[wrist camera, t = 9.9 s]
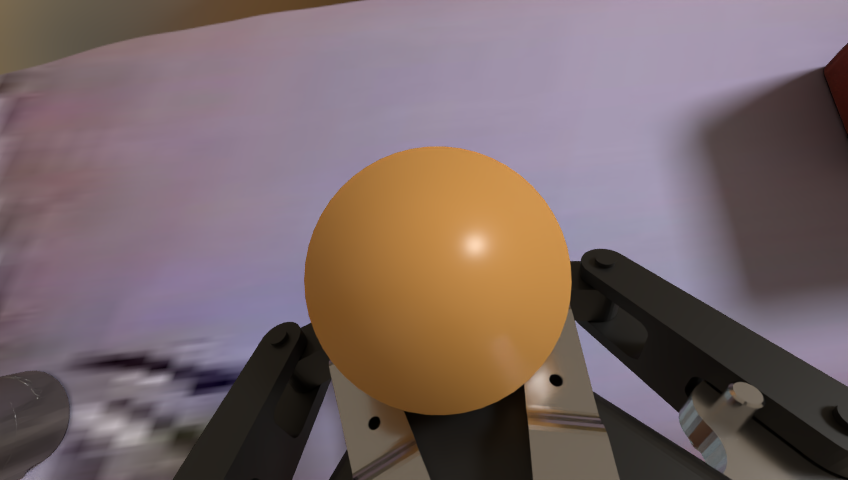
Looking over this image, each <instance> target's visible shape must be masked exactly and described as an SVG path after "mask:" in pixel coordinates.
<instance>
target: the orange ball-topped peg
mask: <svg viewBox="0 0 848 480" xmlns="http://www.w3.org/2000/svg"><path fill="white" fill-rule="evenodd" d="M304 284H305V298H306V303H307V308H308V313H309V317H310V320H311V323H312V326H313V329H314V332H315V334H316V336H317V338H318V340H319V342H320V344H321V346H322V348H323V349H324V351H325V353H326V354H327V356H328V357H329V359H330V360H331V362H332V363H333V364H334V365H335V366H336V367H337V369H338V370H339V371H340V372H341V373H342V374H343V375H344V376H345V377H346V378H347V379H348V380H349V381H350V382H351V383H353V384H354V385H355V386H356V387H357V388H358V389H360V390H362V391H363V392H365V393H366V394H368V395H369V396H371V397H372V398H374V399H376V400H378V401H380V402H382V403H384V404H386V405H389V406H391V407H394V408H398V409H401V410H404V411H407V412H413V413H419V414H424V415H450V414H459V413H465V412H469V411H473V410H477V409H481V408H483V407H485V406H488V405H490V404H493V403H495V402H497V401H499V400H501V399H503V398H504V397H506V396H508V395H509V394H511V393H513V392H514V391H516V390H517V389H518V388H519V387H521V386H522V385H523V384H524V383H526V382H527V381H528V380H529V379H530V378H531V377H532V376H533V375H534V374H535V373H536V372H537V371H538V370H539V369H540V367H541V366H542V365H543V364H544V362H545V361H546V359H547V358H548V356H549V355H550V354H551V352H552V351H553V349H554V347H555V345H556V343H557V341H558V339H559V337H560V335H561V332H562V329H563V327H564V324H565V321H566V318H567V314H568V309H569V304H570V297H571V284H572V281H571V264H570V259H569V254H568V249H567V245H566V242H565V239H564V236H563V233H562V230H561V228H560V226H559V224H558V222H557V220H556V218H555V216H554V214H553V212H552V211H551V209H550V208H549V206H548V205H547V203H546V202H545V200H544V199H543V198H542V197H541V196H540V194H539V193H538V192H537V191H536V190H535V189H534V187H533V186H532V185H530V184H529V183H528V182H527V181H526V180H525V179H524V178H523V177H522V176H520V175H519V174H518V173H516V172H515V171H513V170H512V169H510V168H509V167H508V166H506V165H504V164H502V163H500V162H498V161H496V160H495V159H493V158H490V157H488V156H485V155H482V154H480V153H477V152H473V151H469V150H465V149H461V148H452V147H422V148H415V149H409V150H405V151H402V152H398V153H395V154H392V155H390V156H387V157H385V158H382V159H380V160H378V161H376V162H374V163H373V164H371V165H369V166H367V167H366V168H364V169H363V170H361V171H360V172H359V173H357V174H356V175H355V176H353V177H352V178H351V179H350V180H349V181H348V182H347V183H346V184H345V185H343V186H342V187H341V188H340V190H339V191H338V192H337V193H336V194H335V196H334V197H333V198H332V199H331V200H330V202H329V203H328V205H327V206H326V208H325V210H324V211H323V213H322V214H321V216H320V218H319V220H318V223H317V225H316V227H315V229H314V231H313V234H312V237H311V240H310V244H309V247H308V252H307V257H306V262H305V277H304Z"/></svg>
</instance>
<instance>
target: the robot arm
mask: <svg viewBox="0 0 848 480" xmlns="http://www.w3.org/2000/svg"><path fill="white" fill-rule="evenodd" d="M570 264H571V281H572V284H571V297H570V304H569V309H568V314H567V318H566V321H565V324H564V327H563V329H562V332H561V335H560V337H559V339H558V341H557V343H556V345H555V347H554V349H553V351H552V352H551V354H550V355H549V356H548V358H547V359H546V361H545V362H544V364H543V365H542V366H541V367H540V369H539V370H538V371H537V372H536V373H535V374H534V375H533V376H532V377H531V378H530V379H529V380H528V381H527V382H526V383H524V384H523V385H522V386H521V387H519V388H518V389H517V390H516V391H514V392H513V393H511V394H509V395H508V396H506V397H504V398H503V399H501V400H499V401H497V402H495V403H493V404H490V405H488V406H485V407H483V408H481V409H477V410H473V411H469V412H465V413H459V414H450V415H424V414H419V413H413V412H407V411H404V410H401V409H398V408H394V407H391V406H389V405H386V404H384V403H382V402H380V401H378V400H376V399H374V398H372V397H371V396H369V395H368V394H366V393H365V392H363V391H362V390H360V389H358V388H357V387H356V386H355V385H354V384H353V383H351V382H350V381H349V380H348V379H347V378H346V377H345V376H344V375H343V374H342V373H341V372H340V371H339V370H338V369H337V367H336V366H335V365H334V364H333V363H332V362H331V360H330V359H329V357H328V356H327V354H326V353H325V351H324V349H323V348H322V346H321V344H320V342H319V340H318V338H317V336H316V334H315V332H314V329H313V326H312V323H310V324H308V325H306V326H304V327H302V328H300V327H299V325H298V324H296V323H294V322H286V323H282V324H279V325H277V326H276V327H274V328H272V329H271V330H270V331H269V332H268V333H267V334H266V335H265V336H264V337H263V339H262V340H261V342H260V343H259V345H258V346H257V348H256V350H255V351H254V353H253V354H252V356H251V357H250V359H249V361H248V362H247V364H246V365H245V367H244V368H243V370H242V372H241V373H240V375H239V376H238V378H237V379H236V381H235V383H234V384H233V386H232V387H231V389H230V390H229V392H228V394H227V395H226V397H225V398H224V400H223V401H222V403H221V405H220V406H219V408H218V409H217V411H216V412H215V414H214V415H213V417H212V419H211V420H210V422H209V423H208V425H207V426H206V428H205V430H204V431H203V433H202V434H201V436H200V437H199V439H198V441H197V442H196V444H195V445H194V447H193V448H192V450H191V452H190V453H189V455H188V456H187V458H186V459H185V461H184V463H183V464H182V466H181V467H180V469H179V470H178V472H177V474H176V475H175V477H174V478H173V480H292V478H293V476H294V473H295V471H296V468H297V465H298V463H299V460H300V458H301V455H302V453H303V450H304V448H305V445H306V442H307V440H308V437H309V435H310V432H311V430H312V427H313V425H314V422H315V419H316V417H317V414H318V412H319V409H320V407H321V404H322V402H323V399H324V396H325V394H326V391H327V389H328V386H329V384H330V381H331V378H332V382H333V387H334V391H335V396H336V401H337V405H338V410H339V414H340V419H341V423H342V428H343V432H344V437H345V441H346V446H347V450H346V452H345V454H344V455H343V457H342V459H341V460H340V462H339V464H338V465H337V467H336V469H335V470H334V472H333V474H332V475H331V477H330V479H329V480H848V387H847V386H846V385H844V384H842V383H840V382H839V381H837V380H835V379H834V378H832V377H830V376H828V375H827V374H825V373H823V372H822V371H820V370H818V369H816V368H815V367H813V366H811V365H810V364H808V363H806V362H805V361H803V360H801V359H799V358H798V357H796V356H794V355H793V354H791V353H789V352H787V351H786V350H784V349H782V348H781V347H779V346H777V345H775V344H774V343H772V342H770V341H769V340H767V339H765V338H763V337H762V336H760V335H758V334H757V333H755V332H753V331H751V330H750V329H748V328H746V327H745V326H743V325H741V324H740V323H738V322H736V321H734V320H733V319H731V318H729V317H728V316H726V315H724V314H722V313H721V312H719V311H717V310H716V309H714V308H712V307H710V306H709V305H707V304H705V303H704V302H702V301H700V300H698V299H697V298H695V297H693V296H692V295H690V294H688V293H686V292H685V291H683V290H681V289H680V288H678V287H676V286H674V285H673V284H671V283H669V282H668V281H666V280H664V279H663V278H661V277H659V276H657V275H656V274H654V273H652V272H651V271H649V270H647V269H645V268H644V267H642V266H640V265H639V264H637V263H635V262H633V261H632V260H630V259H628V258H627V257H625V256H623V255H621V254H620V253H618V252H615V251H612V250H607V249H594V250H590V251H588V252H586V253H585V254H584V255H583V256H582V258H581V261H570ZM574 320H576V321H577V323H578V324H580V325H581V326H582V327H583V328H584V329H585V330H586V331H587V332H589V333H590V334H591V335H592V336H593V337H594V338H595V339H596V340H598V341H599V342H600V343H601V344H602V345H603V346H604V347H605V348H607V349H608V350H609V351H610V352H611V353H612V354H613V355H614V356H616V357H617V358H618V359H619V360H620V361H621V362H622V363H623V364H625V365H626V366H627V367H628V368H629V369H630V370H631V371H632V372H634V373H635V374H636V375H637V376H638V377H639V378H640V379H641V380H643V381H644V382H645V383H646V384H647V385H648V386H649V387H650V388H652V389H653V390H654V391H655V392H656V393H657V394H658V395H659V396H661V397H662V398H663V399H664V400H665V401H666V402H667V403H668V404H670V405H671V406H672V407H673V408H674V409H675V410H676V411H677V412H679V422H680V425H681V427H682V429H683V431H684V433H685V434H686V436H687V437H688V438H689V440H690V442H691V444H692V445H693V447H694V448H695V449H697V450H698V451H699V452H700V453H701V454H702V456H703V458H704V459H705V461H706V463H705V462H704V461H702V460H701V459H699V458H697V457H696V456H694V455H693V454H691V453H689V452H688V451H686V450H685V449H683V448H682V447H680V446H678V445H677V444H675V443H674V442H672V441H671V440H669V439H667V438H666V437H664V436H663V435H661V434H659V433H658V432H656V431H655V430H653V429H652V428H650V427H648V426H647V425H645V424H644V423H642V422H640V421H639V420H637V419H636V418H634V417H633V416H631V415H629V414H628V413H626V412H625V411H623V410H621V409H620V408H618V407H617V406H615V405H614V404H612V403H610V402H609V401H607V400H606V399H604V398H602V397H601V396H599V395H598V394H596V393H595V392H593V391H592V387H591V383H590V379H589V375H588V371H587V367H586V364H585V360H584V356H583V352H582V348H581V344H580V340H579V336H578V332H577V328H576V324H575V321H574ZM68 421H69V402H68V397H67V394H66V392H65V390H64V388H63V387H62V385H61V384H60V382H59V381H58V380H56V379H55V378H54V377H53V376H51V375H49V374H47V373H45V372H40V371H25V372H20V373H16V374H11V375H6V376H2V377H0V480H18V479H20V478H22V477H23V476H24V475H25V473H26V471H27V470H28V469H29V468H30V467H32V466H34V465H36V464H38V463H40V462H42V461H43V460H44V459H46V458H47V457H48V456H50V455H51V454H52V452H53V451H54V450H55V449H56V448H57V447H58V445H59V443H60V442H61V440H62V439H63V437H64V434H65V432H66V429H67V426H68Z"/></svg>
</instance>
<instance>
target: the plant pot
mask: <svg viewBox="0 0 848 480" xmlns="http://www.w3.org/2000/svg"><path fill="white" fill-rule="evenodd" d="M824 75H825V77H826V80H827V82H828V85H829V87H830V90H831V93H832V96H833V98H834V101H835V103H836V106H837V109H838V111H839V114H840V116H841V119H842V121H843V124H844V127H845V129H846V132H847V134H848V43H847V44H846V45H845V46H844V47H843V48H842V49H841V50H840V51H839V52H838V53H837V55H836V56H835V57H834V58H833V59H832V60H831V61H830V62H829V63H828V64H827V65H826V67H825V69H824Z"/></svg>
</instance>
